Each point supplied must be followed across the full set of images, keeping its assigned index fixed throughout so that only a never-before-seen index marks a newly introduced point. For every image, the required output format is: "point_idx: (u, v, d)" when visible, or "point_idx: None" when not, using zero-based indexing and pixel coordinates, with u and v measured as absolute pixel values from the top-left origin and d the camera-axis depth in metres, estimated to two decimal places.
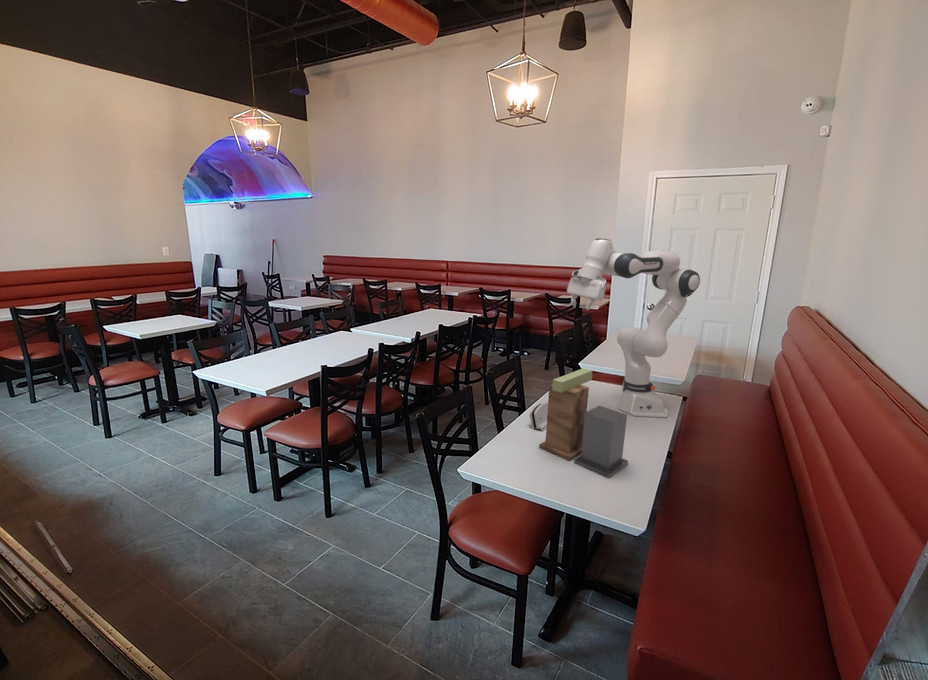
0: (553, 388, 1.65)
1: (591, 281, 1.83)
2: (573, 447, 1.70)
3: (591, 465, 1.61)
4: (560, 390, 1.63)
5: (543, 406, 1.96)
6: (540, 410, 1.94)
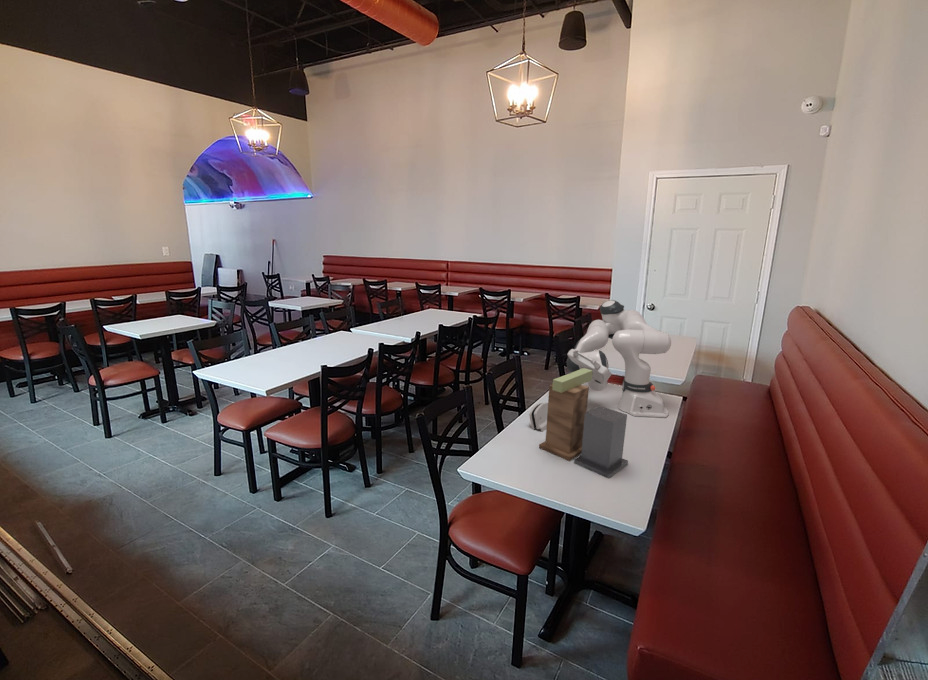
0: (553, 388, 1.65)
1: (581, 366, 2.00)
2: (573, 447, 1.70)
3: (591, 465, 1.61)
4: (560, 390, 1.63)
5: (543, 406, 1.96)
6: (539, 410, 1.93)
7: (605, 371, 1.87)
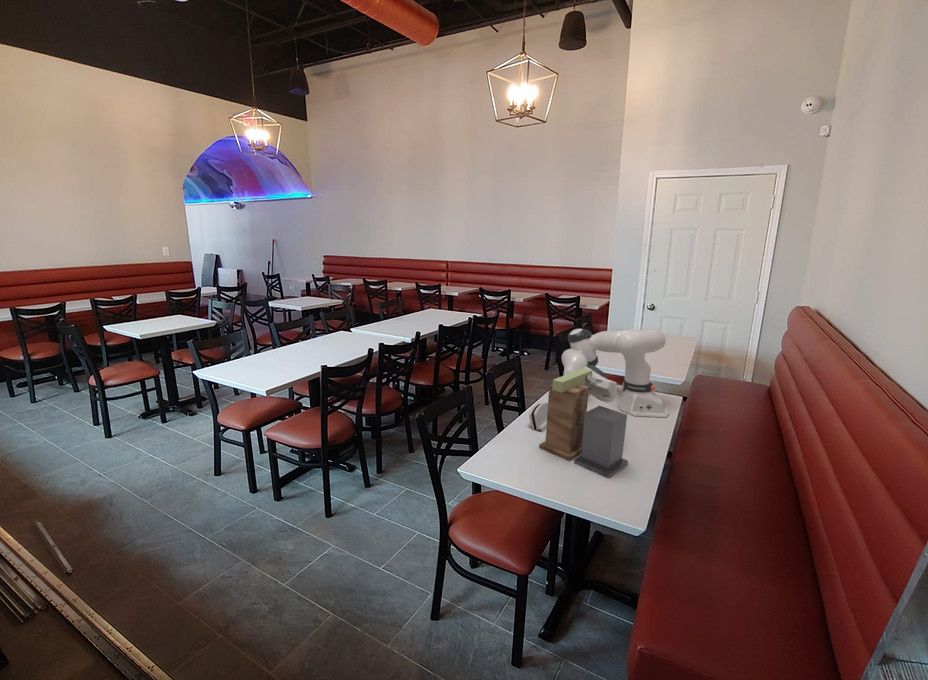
0: (553, 388, 1.65)
1: None
2: (573, 447, 1.70)
3: (591, 465, 1.61)
4: (560, 390, 1.63)
5: (542, 406, 1.96)
6: (539, 411, 1.93)
7: (608, 385, 1.71)
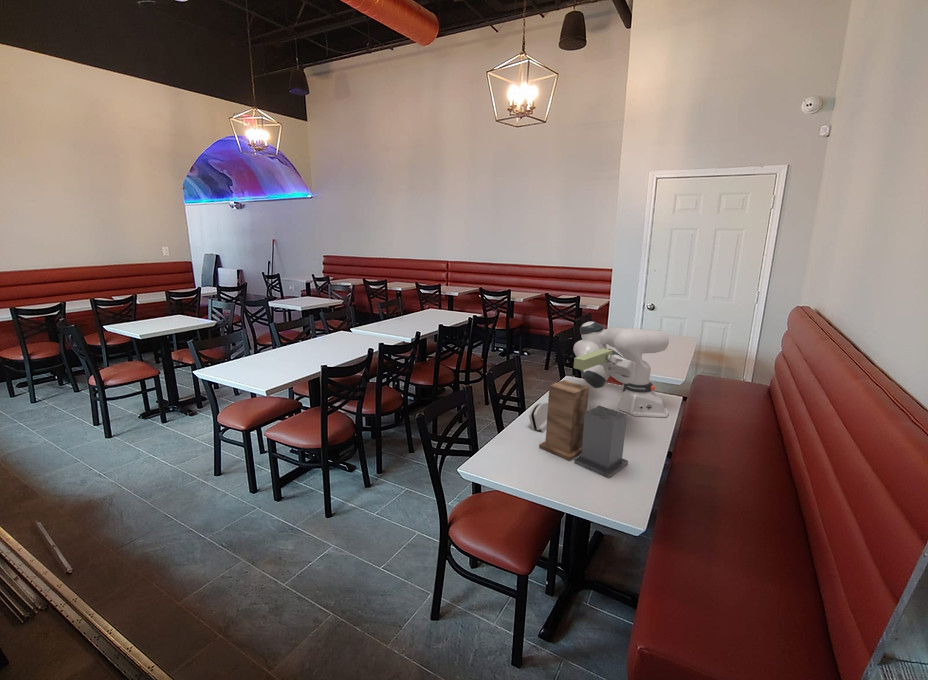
0: (574, 366, 1.69)
1: (602, 365, 1.88)
2: (573, 447, 1.70)
3: (591, 465, 1.61)
4: (581, 368, 1.67)
5: (541, 407, 1.96)
6: (539, 411, 1.93)
7: (628, 364, 1.75)
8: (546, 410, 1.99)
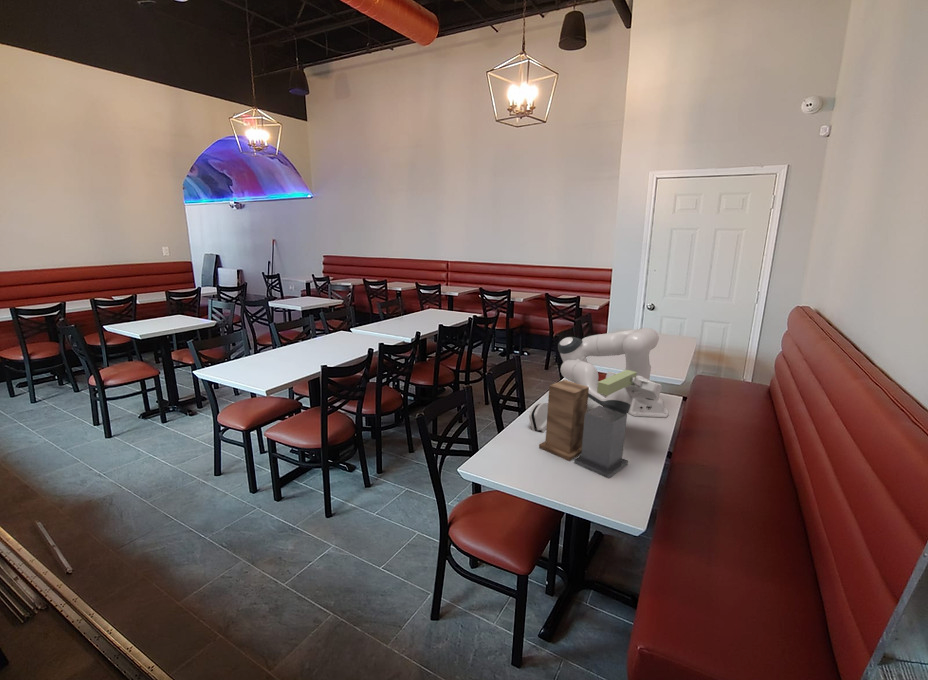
0: (598, 391, 1.57)
1: (625, 387, 1.77)
2: (573, 447, 1.70)
3: (591, 465, 1.61)
4: (606, 393, 1.55)
5: (541, 407, 1.95)
6: (539, 411, 1.92)
7: (655, 387, 1.63)
8: (546, 410, 1.99)
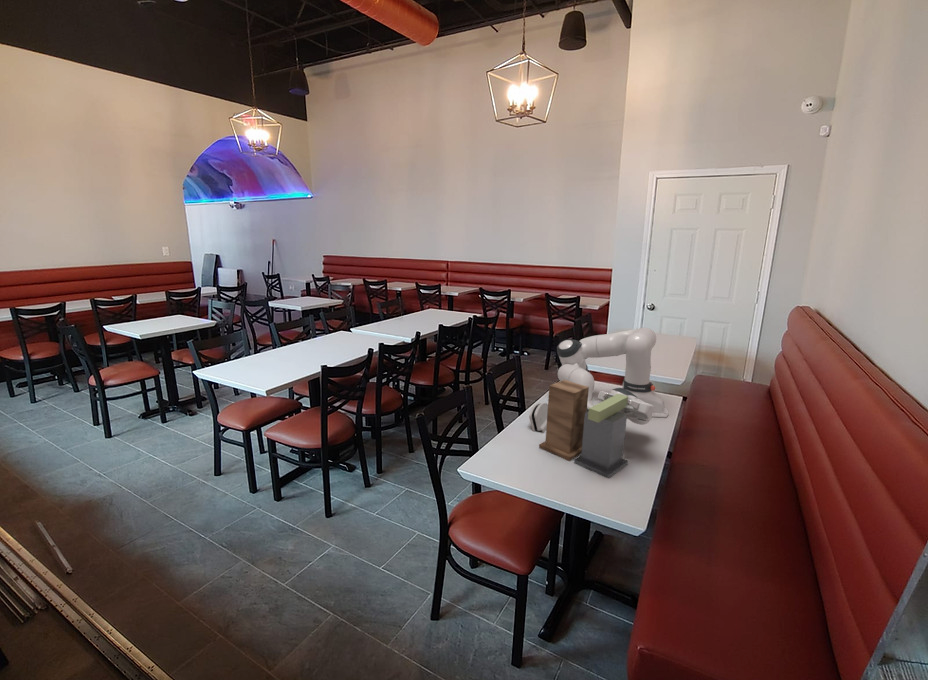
0: (589, 417, 1.55)
1: None
2: (573, 447, 1.70)
3: (591, 465, 1.61)
4: (597, 420, 1.53)
5: (541, 407, 1.95)
6: (539, 412, 1.92)
7: (647, 409, 1.61)
8: (545, 410, 1.98)
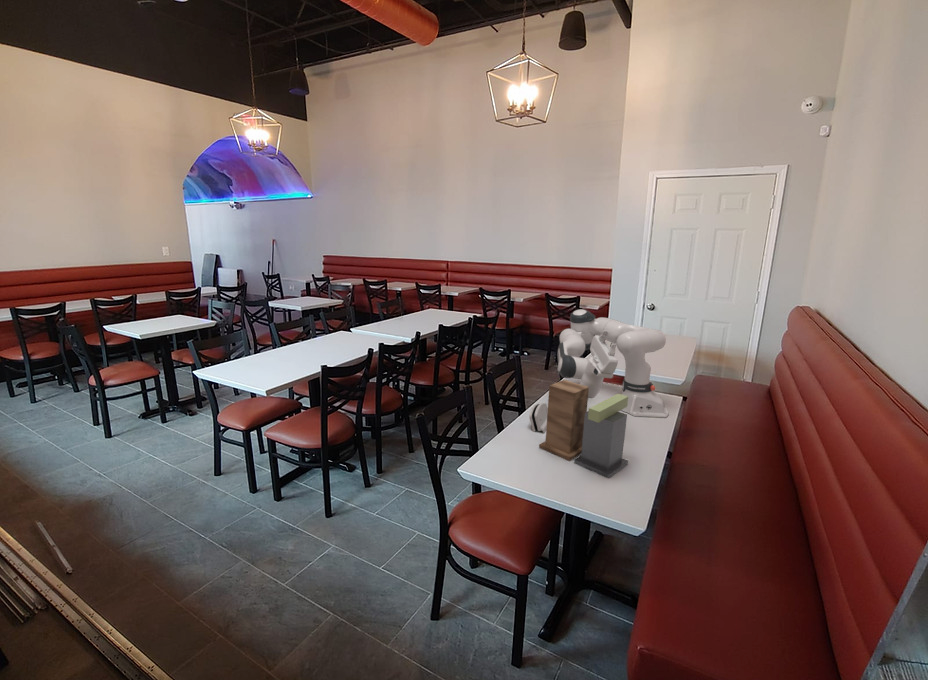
0: (589, 417, 1.55)
1: (593, 355, 1.88)
2: (573, 447, 1.70)
3: (591, 465, 1.61)
4: (597, 420, 1.53)
5: (541, 407, 1.95)
6: (539, 412, 1.92)
7: (614, 360, 1.74)
8: (544, 410, 1.98)
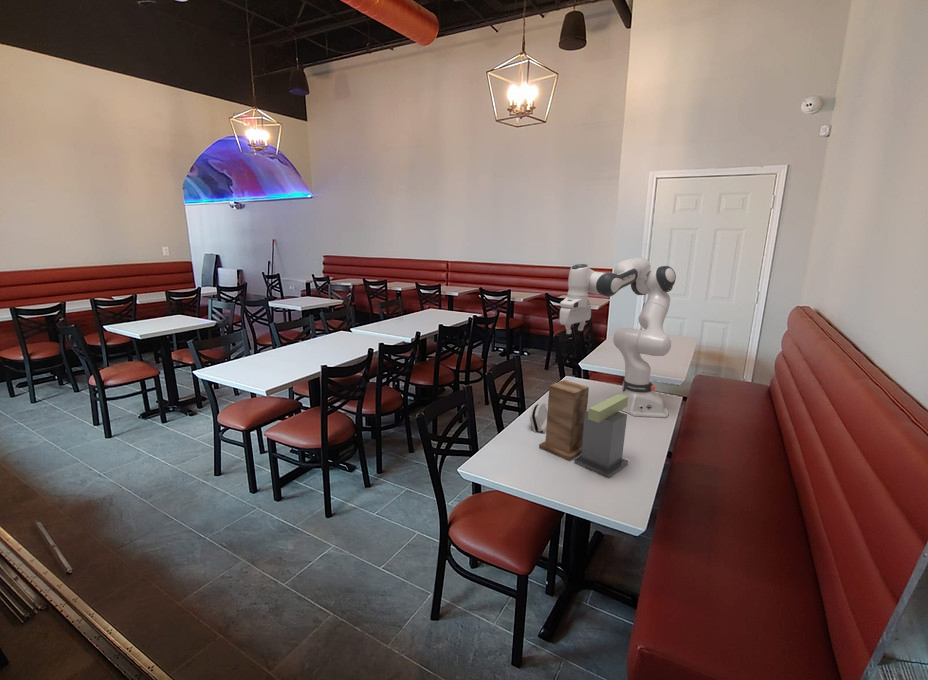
0: (589, 417, 1.55)
1: (584, 306, 1.99)
2: (573, 447, 1.70)
3: (591, 465, 1.61)
4: (597, 420, 1.53)
5: (540, 408, 1.95)
6: (539, 412, 1.92)
7: (563, 324, 1.92)
8: (544, 411, 1.98)
